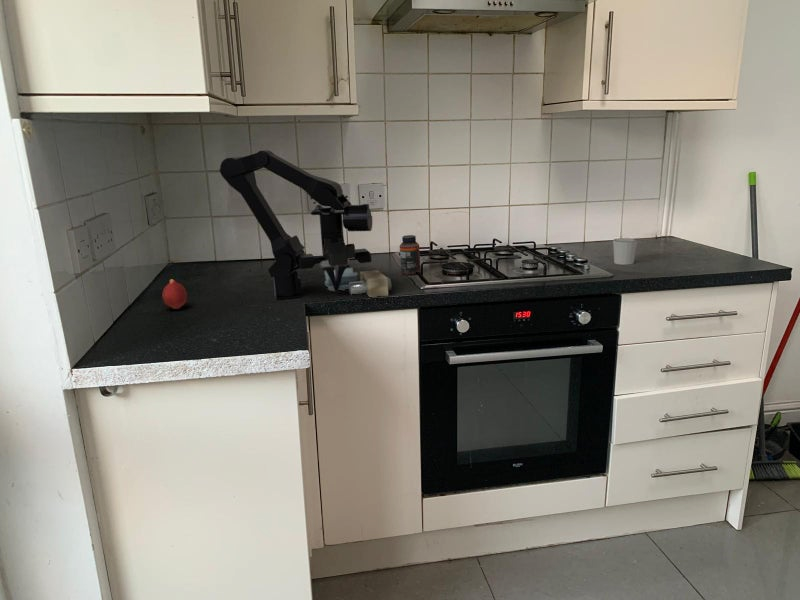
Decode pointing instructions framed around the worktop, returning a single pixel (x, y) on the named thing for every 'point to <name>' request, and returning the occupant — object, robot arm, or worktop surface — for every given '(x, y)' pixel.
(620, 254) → the grey cup
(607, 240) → the worktop surface
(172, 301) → the onion
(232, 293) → the worktop surface
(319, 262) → the robot arm
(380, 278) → the beam
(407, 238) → the supplement bottle
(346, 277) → the v block
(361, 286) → the axle
